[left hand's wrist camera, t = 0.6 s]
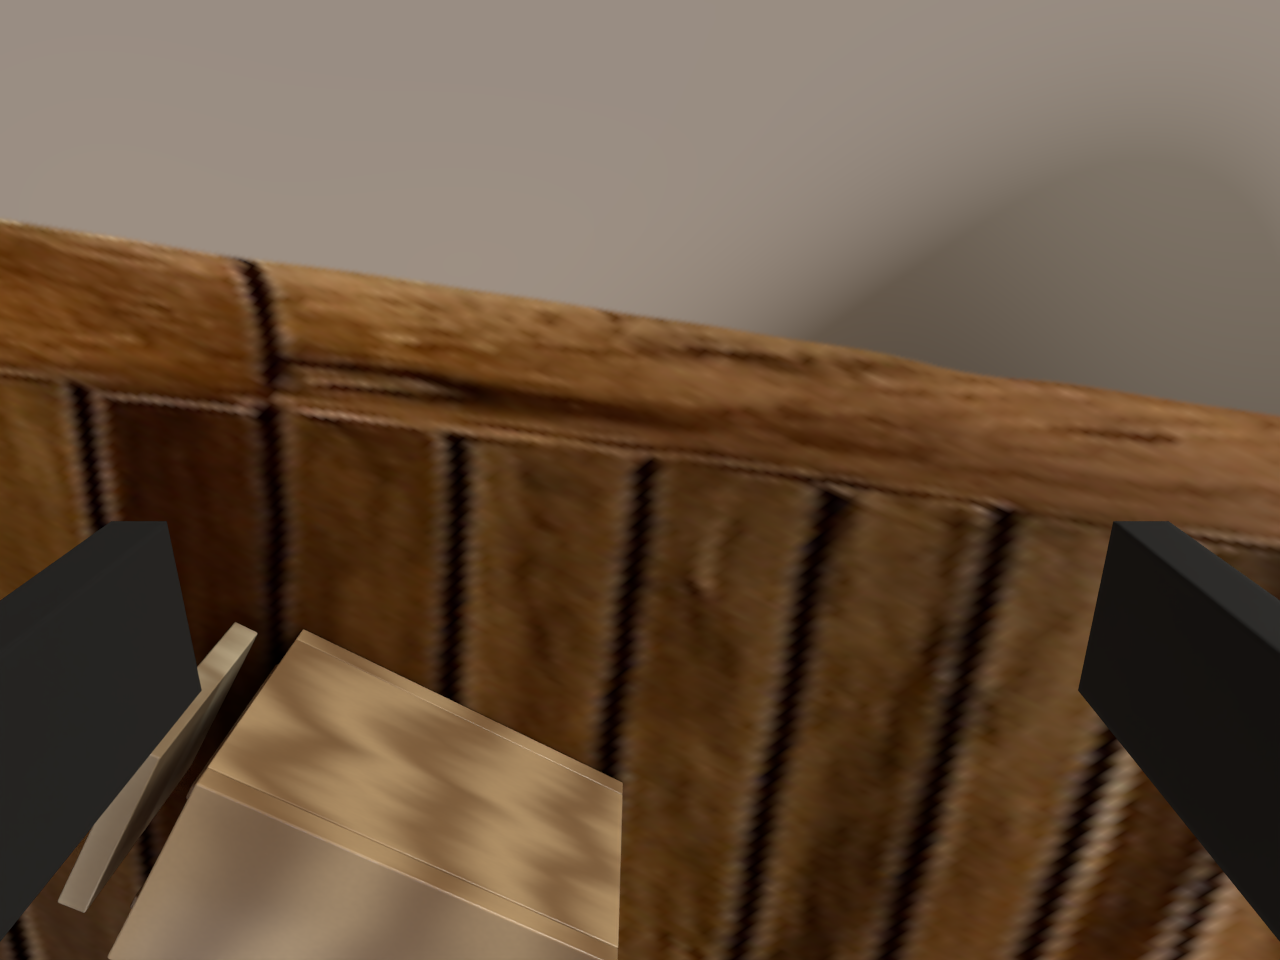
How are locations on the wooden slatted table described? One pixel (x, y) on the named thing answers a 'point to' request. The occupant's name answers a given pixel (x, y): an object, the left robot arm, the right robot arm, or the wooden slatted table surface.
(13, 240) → the wooden slatted table surface
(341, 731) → the cabinet
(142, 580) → the left robot arm
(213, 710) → the drawer
